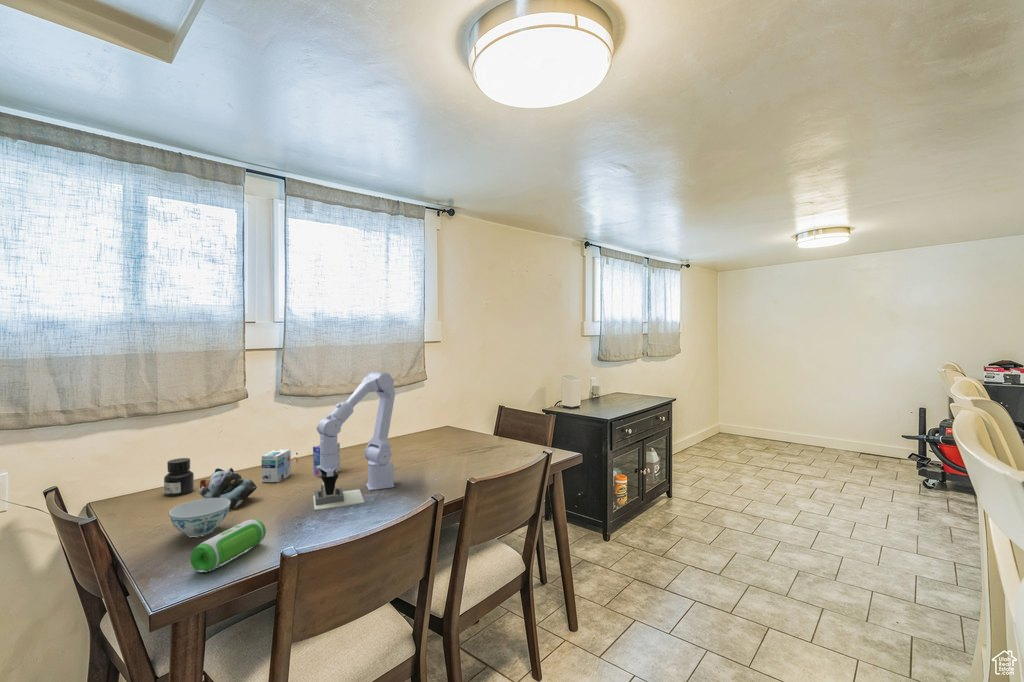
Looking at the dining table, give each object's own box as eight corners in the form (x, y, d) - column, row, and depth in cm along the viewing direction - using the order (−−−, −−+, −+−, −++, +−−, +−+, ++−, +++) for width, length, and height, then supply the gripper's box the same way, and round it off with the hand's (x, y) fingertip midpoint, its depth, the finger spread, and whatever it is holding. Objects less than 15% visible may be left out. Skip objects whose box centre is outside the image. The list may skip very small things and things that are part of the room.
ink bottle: (158, 494, 167) (158, 461, 167) (185, 487, 175) (184, 456, 175) (172, 498, 162) (172, 465, 162) (199, 491, 170) (199, 459, 170)
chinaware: (162, 548, 125) (161, 520, 125) (177, 527, 139) (176, 502, 138) (225, 538, 131) (225, 512, 131) (234, 519, 145) (234, 495, 144)
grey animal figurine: (229, 513, 149) (205, 478, 147) (208, 522, 153) (184, 488, 151) (264, 486, 162) (243, 453, 160) (244, 495, 167) (223, 463, 165)
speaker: (246, 542, 129) (246, 515, 129) (267, 544, 127) (267, 518, 127) (188, 573, 112) (188, 543, 112) (212, 577, 110) (212, 546, 110)
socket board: (359, 490, 171) (359, 483, 171) (364, 503, 158) (364, 496, 158) (313, 497, 164) (313, 490, 164) (314, 510, 151) (314, 503, 151)
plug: (334, 496, 163) (334, 479, 163) (335, 500, 160) (335, 483, 160) (320, 498, 162) (320, 481, 161) (321, 502, 158) (321, 484, 158)
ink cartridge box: (333, 469, 198) (332, 436, 197) (341, 471, 195) (341, 437, 194) (312, 475, 189) (312, 440, 189) (320, 477, 186) (320, 442, 186)
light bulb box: (277, 483, 179) (277, 456, 179) (260, 483, 180) (260, 455, 179) (291, 474, 190) (291, 449, 190) (275, 474, 190) (275, 449, 190)
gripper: (315, 449, 165) (316, 486, 166) (317, 459, 152) (317, 499, 152) (336, 447, 168) (336, 483, 169) (339, 456, 155) (339, 496, 155)
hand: (329, 491), depth 161 cm, fingers open, 7 cm apart
